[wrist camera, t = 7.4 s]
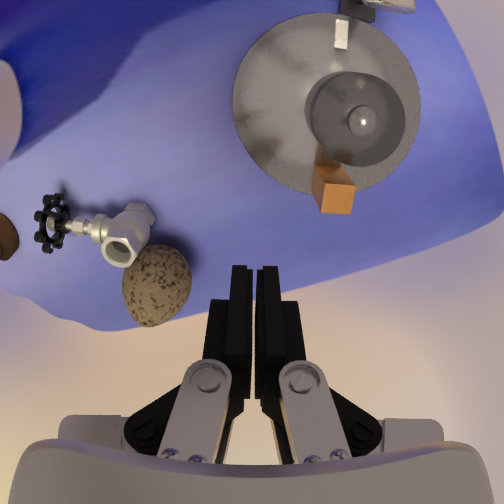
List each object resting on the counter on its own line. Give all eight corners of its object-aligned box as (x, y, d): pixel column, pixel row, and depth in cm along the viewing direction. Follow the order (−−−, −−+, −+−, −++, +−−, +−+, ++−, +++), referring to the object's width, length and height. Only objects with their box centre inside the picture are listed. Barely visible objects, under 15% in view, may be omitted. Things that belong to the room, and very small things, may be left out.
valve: (157, 189, 28) (59, 181, 27) (137, 224, 23) (27, 211, 21) (157, 243, 32) (67, 230, 30) (141, 283, 26) (41, 265, 25)
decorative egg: (188, 286, 35) (174, 354, 27) (133, 269, 34) (107, 333, 26) (203, 240, 31) (190, 310, 23) (141, 221, 30) (108, 285, 22)
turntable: (235, 8, 17) (231, -8, 12) (420, 39, 17) (456, 40, 13) (232, 186, 26) (229, 216, 22) (395, 195, 27) (419, 224, 22)
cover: (312, 61, 18) (326, 61, 15) (393, 84, 19) (419, 91, 15) (297, 144, 22) (307, 161, 19) (375, 159, 23) (396, 179, 19)
